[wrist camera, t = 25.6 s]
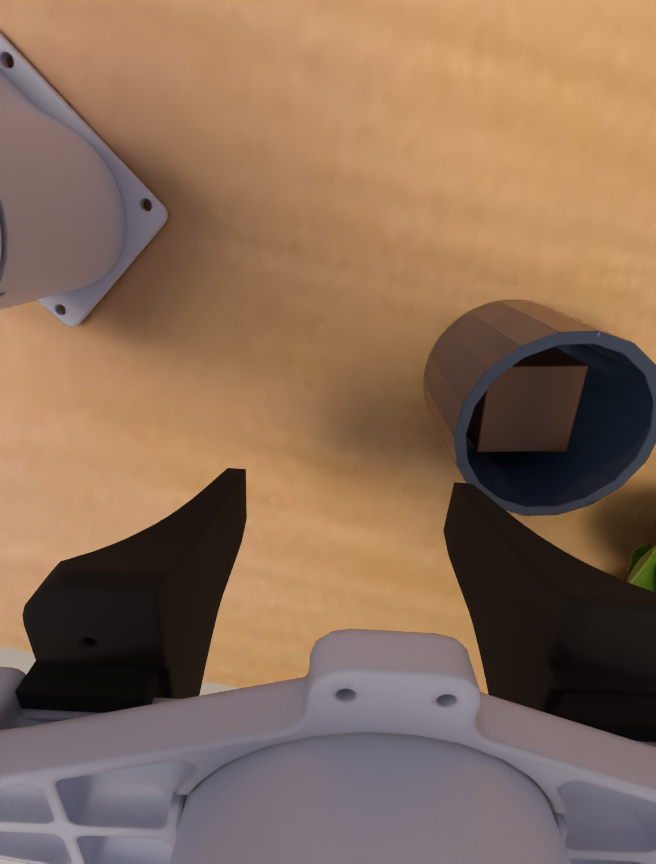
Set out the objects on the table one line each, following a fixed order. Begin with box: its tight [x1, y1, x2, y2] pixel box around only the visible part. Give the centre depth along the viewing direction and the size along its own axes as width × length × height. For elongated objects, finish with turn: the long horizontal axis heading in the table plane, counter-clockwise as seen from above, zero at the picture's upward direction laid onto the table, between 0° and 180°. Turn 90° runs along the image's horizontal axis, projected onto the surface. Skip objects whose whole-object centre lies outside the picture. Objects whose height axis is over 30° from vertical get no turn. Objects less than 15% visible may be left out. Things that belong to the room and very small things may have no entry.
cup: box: [424, 300, 656, 516], centre depth 21 cm, size 8×8×7 cm
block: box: [466, 347, 588, 452], centre depth 21 cm, size 4×4×4 cm
